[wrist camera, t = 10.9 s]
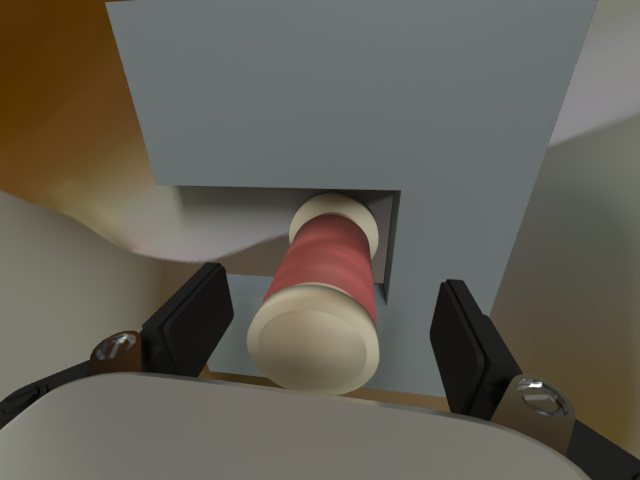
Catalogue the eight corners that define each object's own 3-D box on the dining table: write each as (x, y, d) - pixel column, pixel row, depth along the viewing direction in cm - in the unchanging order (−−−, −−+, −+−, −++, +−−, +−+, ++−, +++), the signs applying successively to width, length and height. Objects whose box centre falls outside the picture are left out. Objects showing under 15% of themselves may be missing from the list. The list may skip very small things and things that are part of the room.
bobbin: (381, 192, 16) (409, 290, 8) (373, 271, 19) (388, 414, 10) (289, 190, 17) (216, 277, 8) (294, 267, 20) (242, 397, 11)
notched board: (560, -5, 12) (609, -33, 9) (450, 369, 22) (460, 398, 20) (145, 20, 14) (105, 2, 12) (223, 347, 24) (209, 371, 22)
